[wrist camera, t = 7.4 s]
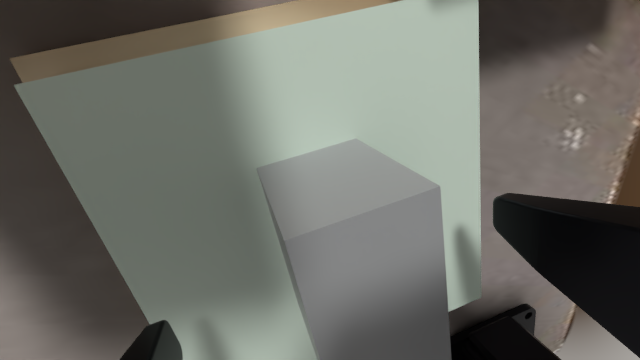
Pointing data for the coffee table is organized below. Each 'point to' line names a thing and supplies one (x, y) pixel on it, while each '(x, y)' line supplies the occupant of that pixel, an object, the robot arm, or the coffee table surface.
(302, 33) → the lid
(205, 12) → the coffee table surface
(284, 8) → the cork mat
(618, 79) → the coffee table surface
